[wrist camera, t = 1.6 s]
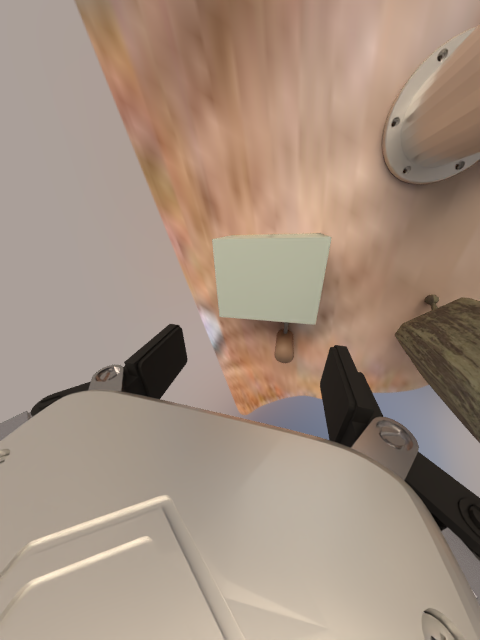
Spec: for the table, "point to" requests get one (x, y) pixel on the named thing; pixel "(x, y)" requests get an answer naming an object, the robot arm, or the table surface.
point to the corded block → (284, 345)
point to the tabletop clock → (449, 355)
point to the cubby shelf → (271, 276)
